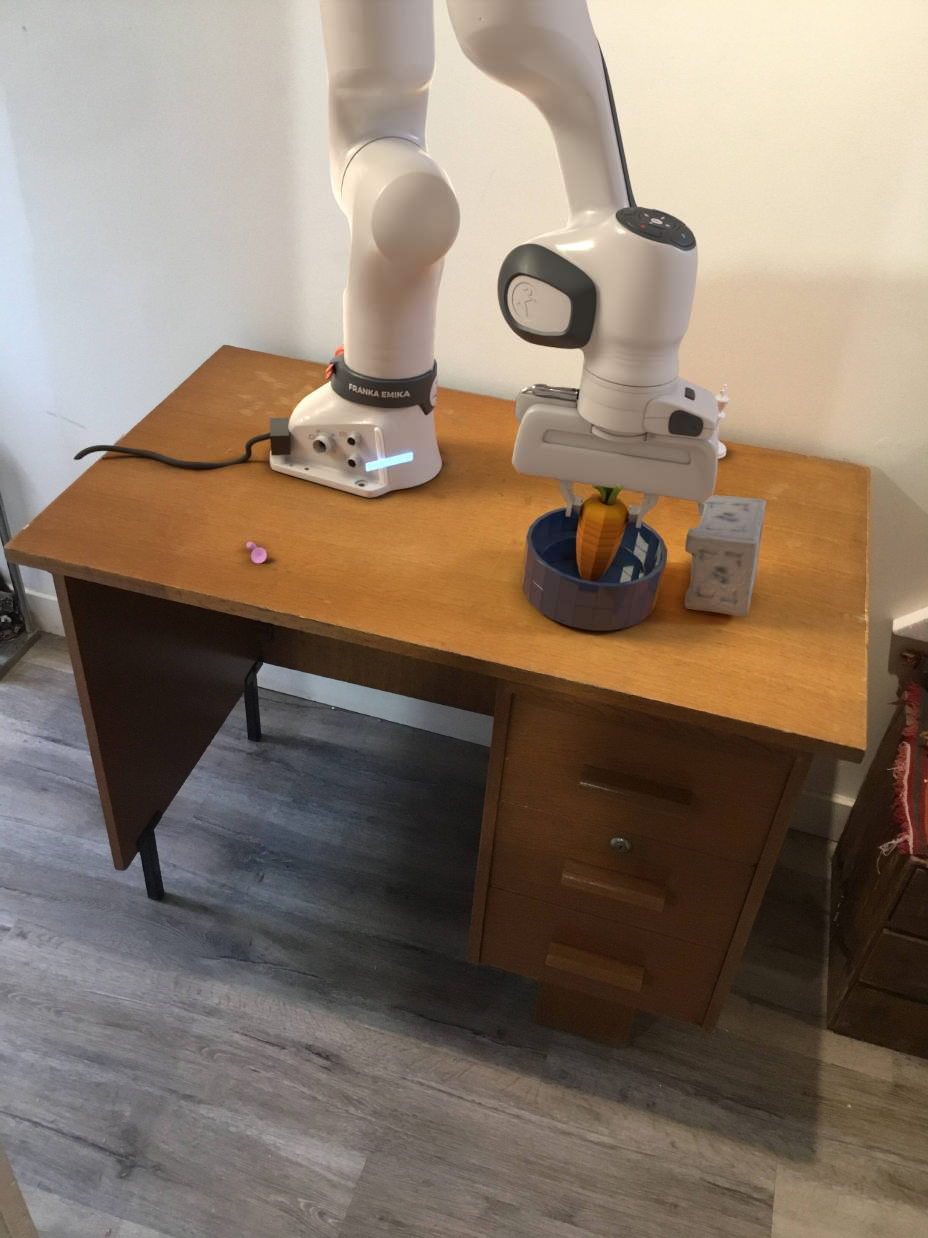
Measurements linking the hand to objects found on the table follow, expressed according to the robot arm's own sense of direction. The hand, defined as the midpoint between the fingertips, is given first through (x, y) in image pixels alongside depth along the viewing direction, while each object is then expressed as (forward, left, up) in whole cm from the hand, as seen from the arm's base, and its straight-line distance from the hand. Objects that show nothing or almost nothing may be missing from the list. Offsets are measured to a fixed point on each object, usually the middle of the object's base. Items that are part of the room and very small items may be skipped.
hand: (603, 519), depth 95 cm
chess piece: (+13, +39, -10) cm, 42 cm away
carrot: (0, 0, -9) cm, 9 cm away
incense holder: (+13, +4, -10) cm, 17 cm away
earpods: (-37, -4, -10) cm, 39 cm away
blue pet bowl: (0, 0, -10) cm, 10 cm away
